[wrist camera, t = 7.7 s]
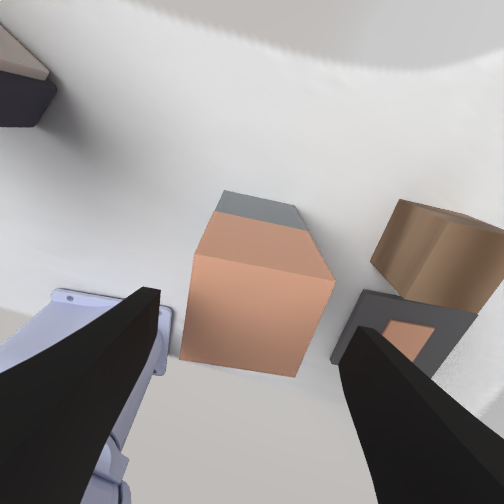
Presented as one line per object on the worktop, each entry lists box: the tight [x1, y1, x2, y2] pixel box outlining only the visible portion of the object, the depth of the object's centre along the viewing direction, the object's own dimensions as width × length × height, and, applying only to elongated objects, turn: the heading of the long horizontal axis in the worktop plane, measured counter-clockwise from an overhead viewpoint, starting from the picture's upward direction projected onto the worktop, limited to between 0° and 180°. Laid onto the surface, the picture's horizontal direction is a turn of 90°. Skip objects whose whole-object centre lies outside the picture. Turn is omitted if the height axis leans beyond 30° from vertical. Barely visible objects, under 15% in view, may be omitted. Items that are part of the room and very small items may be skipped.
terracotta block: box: [179, 211, 336, 377], centre depth 12 cm, size 5×5×5 cm
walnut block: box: [370, 199, 504, 313], centre depth 17 cm, size 5×5×5 cm
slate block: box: [215, 190, 309, 231], centre depth 17 cm, size 5×5×5 cm
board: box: [330, 289, 478, 379], centre depth 23 cm, size 10×8×1 cm
